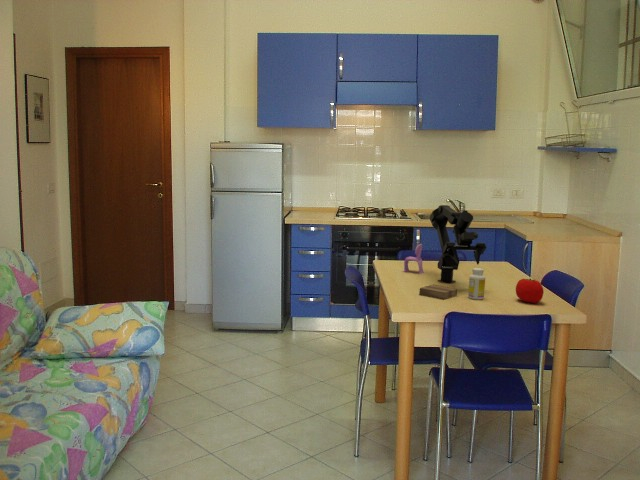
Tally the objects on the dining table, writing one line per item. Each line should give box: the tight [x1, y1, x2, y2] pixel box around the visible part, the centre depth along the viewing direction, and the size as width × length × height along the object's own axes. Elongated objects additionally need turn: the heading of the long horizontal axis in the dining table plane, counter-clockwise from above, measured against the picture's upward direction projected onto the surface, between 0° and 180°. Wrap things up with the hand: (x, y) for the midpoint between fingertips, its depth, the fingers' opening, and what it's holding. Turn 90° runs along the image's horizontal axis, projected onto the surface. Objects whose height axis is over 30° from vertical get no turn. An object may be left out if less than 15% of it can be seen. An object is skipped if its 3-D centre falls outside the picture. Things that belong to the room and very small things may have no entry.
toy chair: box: [403, 243, 424, 275], centre depth 360 cm, size 8×9×15 cm
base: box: [418, 284, 459, 301], centre depth 310 cm, size 12×12×3 cm
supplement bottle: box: [467, 267, 486, 300], centre depth 308 cm, size 7×7×13 cm
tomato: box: [515, 278, 544, 304], centre depth 306 cm, size 11×13×10 cm
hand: (468, 263), depth 315 cm, fingers open, 9 cm apart
